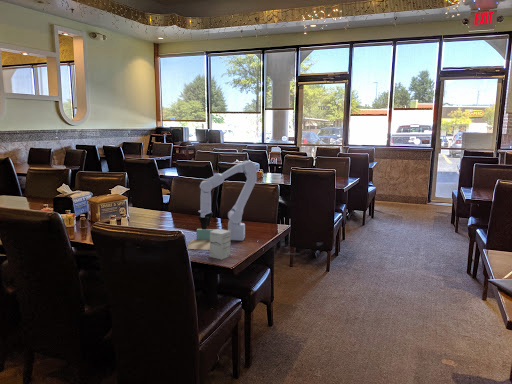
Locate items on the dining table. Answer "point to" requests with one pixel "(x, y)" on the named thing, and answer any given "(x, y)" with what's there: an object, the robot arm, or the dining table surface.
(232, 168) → the robot arm
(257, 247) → the dining table surface
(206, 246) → the mat
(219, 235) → the supplement box
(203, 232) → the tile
